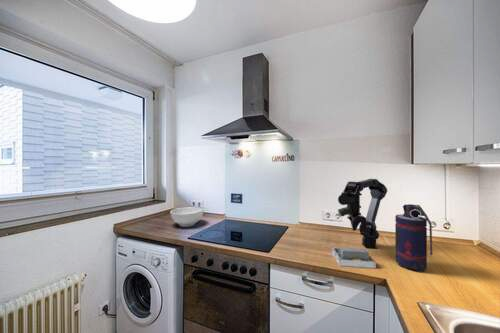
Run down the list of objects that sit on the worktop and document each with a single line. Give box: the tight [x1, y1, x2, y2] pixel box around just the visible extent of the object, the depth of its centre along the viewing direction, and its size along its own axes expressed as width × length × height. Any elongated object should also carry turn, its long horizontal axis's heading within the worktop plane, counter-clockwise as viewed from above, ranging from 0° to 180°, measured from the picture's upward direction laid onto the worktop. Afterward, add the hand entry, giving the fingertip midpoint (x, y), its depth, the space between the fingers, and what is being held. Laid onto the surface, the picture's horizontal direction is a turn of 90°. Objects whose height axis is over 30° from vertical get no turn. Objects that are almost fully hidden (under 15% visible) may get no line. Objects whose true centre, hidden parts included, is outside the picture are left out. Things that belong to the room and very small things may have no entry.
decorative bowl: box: [169, 206, 205, 228], centre depth 164 cm, size 27×27×12 cm
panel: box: [339, 247, 370, 261], centre depth 99 cm, size 12×4×6 cm, turn 81°
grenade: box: [394, 203, 433, 273], centre depth 95 cm, size 14×12×30 cm
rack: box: [330, 247, 377, 269], centre depth 102 cm, size 16×15×4 cm
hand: (354, 230), depth 112 cm, fingers closed
